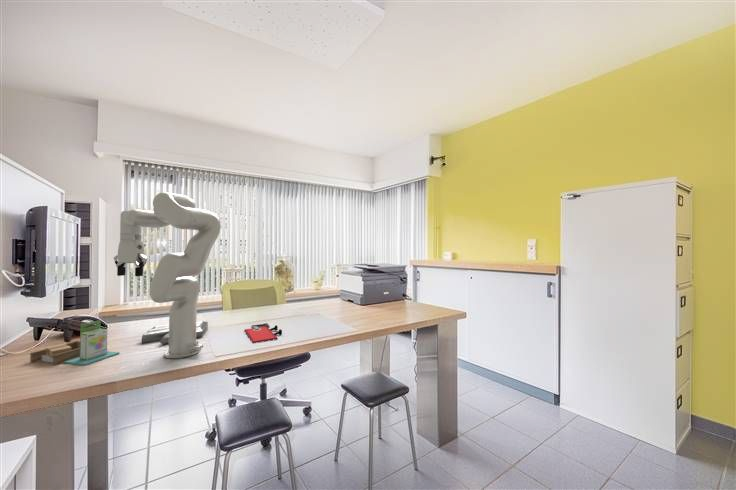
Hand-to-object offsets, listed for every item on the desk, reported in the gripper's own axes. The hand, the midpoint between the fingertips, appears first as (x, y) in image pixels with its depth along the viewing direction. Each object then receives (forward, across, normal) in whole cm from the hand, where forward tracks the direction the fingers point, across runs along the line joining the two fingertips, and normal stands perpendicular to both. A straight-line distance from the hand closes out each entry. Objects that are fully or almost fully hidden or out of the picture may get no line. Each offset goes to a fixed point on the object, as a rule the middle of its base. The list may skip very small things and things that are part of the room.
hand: (130, 275), depth 131 cm
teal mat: (+30, -5, +18) cm, 36 cm away
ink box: (+30, -5, +18) cm, 35 cm away
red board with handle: (+31, -50, -28) cm, 65 cm away
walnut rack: (+30, +7, +18) cm, 36 cm away
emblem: (+31, -12, -14) cm, 36 cm away
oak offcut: (+28, +7, +21) cm, 36 cm away
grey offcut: (+31, +7, +21) cm, 38 cm away
